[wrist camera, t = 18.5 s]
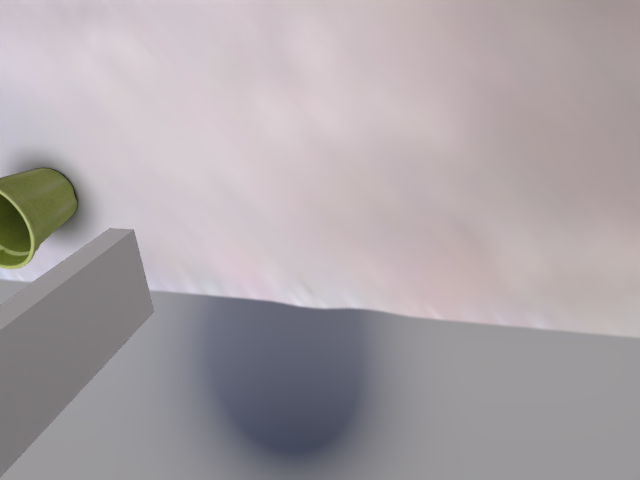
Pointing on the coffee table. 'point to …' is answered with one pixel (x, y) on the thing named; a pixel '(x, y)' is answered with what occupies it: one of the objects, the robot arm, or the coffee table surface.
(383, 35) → the coffee table surface
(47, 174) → the plant pot
